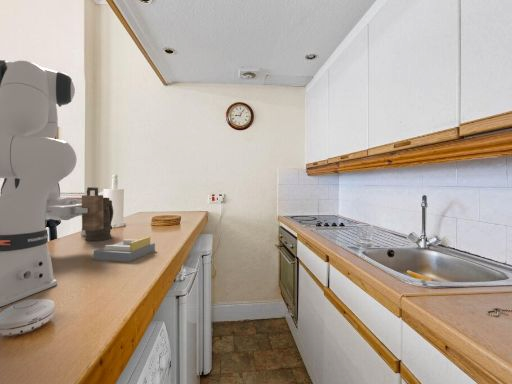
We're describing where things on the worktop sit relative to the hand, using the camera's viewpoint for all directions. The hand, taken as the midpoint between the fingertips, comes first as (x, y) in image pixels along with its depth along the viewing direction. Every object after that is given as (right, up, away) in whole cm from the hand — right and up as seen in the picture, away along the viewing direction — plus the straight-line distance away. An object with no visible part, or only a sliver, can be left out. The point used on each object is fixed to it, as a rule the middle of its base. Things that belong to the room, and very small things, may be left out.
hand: (94, 209), depth 108 cm
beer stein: (-13, -16, +29) cm, 36 cm away
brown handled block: (-1, -7, 0) cm, 8 cm away
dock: (+13, -17, -2) cm, 21 cm away
